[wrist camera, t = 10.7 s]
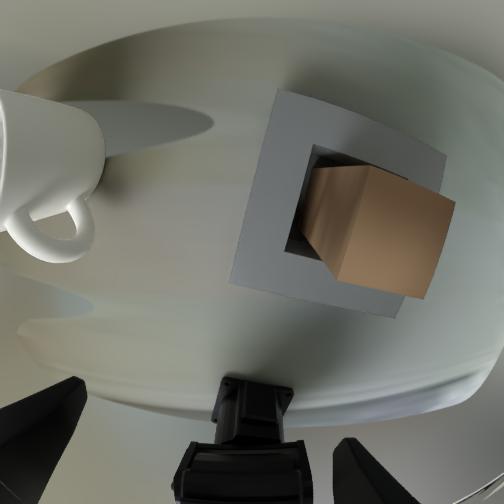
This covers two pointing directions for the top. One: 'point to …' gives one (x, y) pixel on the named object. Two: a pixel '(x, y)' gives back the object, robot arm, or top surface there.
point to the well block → (288, 191)
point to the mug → (47, 172)
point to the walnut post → (375, 227)
